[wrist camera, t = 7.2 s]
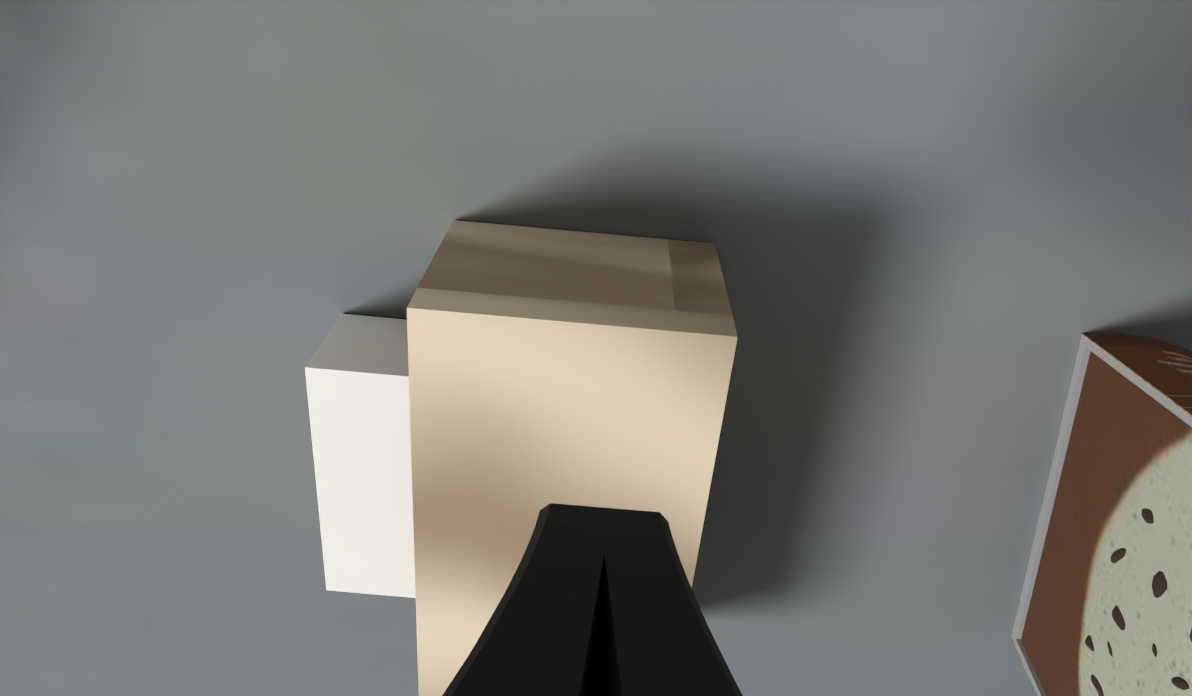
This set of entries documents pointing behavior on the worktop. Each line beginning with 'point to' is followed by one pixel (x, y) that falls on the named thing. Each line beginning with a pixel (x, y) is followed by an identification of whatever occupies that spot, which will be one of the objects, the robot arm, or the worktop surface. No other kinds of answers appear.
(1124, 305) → the worktop surface
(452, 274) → the overhang shelf
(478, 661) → the robot arm
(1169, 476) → the food container
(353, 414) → the cover
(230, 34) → the worktop surface
